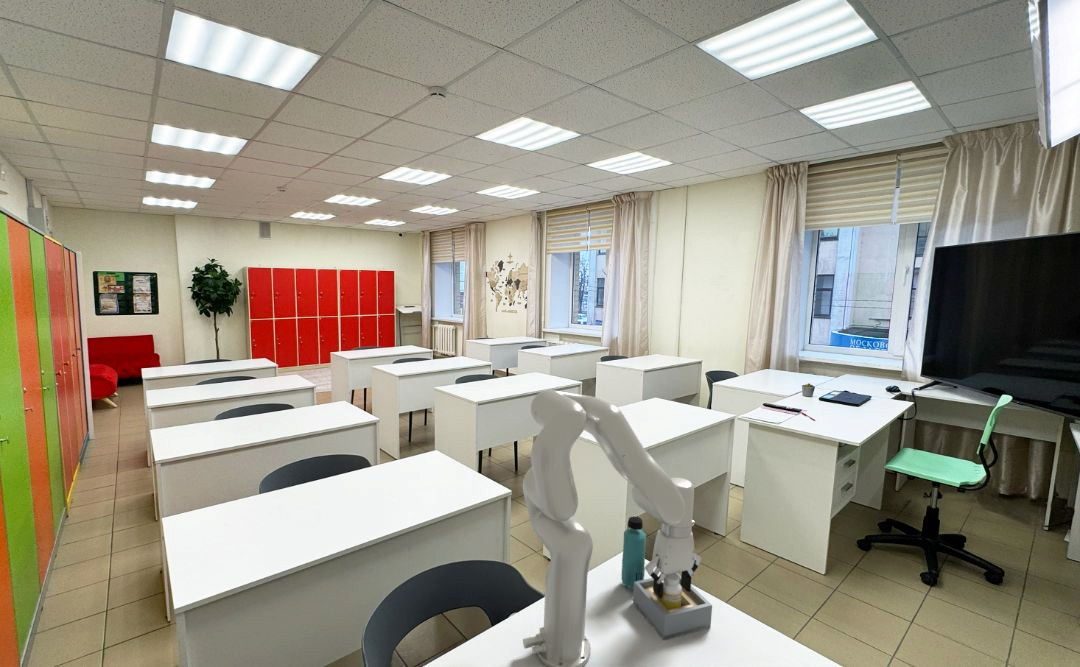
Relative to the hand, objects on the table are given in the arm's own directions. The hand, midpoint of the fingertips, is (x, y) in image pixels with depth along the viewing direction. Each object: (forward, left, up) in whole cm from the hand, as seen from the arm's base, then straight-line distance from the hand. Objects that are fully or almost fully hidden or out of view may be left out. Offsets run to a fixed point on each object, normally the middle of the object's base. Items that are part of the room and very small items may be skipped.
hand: (671, 591), depth 120 cm
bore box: (0, 0, -6) cm, 6 cm away
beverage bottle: (-3, +13, -7) cm, 15 cm away
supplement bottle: (0, 0, -6) cm, 6 cm away
